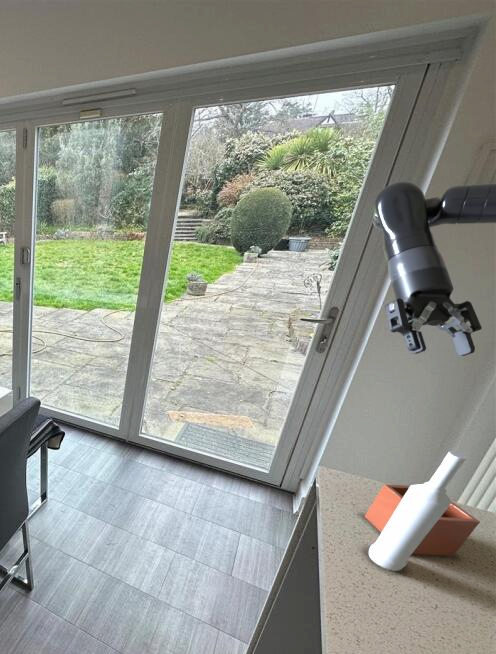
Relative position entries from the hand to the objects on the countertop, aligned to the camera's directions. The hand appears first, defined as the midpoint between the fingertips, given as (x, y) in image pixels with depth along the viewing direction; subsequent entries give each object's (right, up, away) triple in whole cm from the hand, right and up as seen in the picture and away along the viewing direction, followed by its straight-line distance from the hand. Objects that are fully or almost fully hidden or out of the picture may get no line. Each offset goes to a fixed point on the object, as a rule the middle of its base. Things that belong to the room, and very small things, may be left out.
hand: (442, 353), depth 74 cm
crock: (+3, -37, +9) cm, 38 cm away
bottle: (-8, -39, +3) cm, 40 cm away
